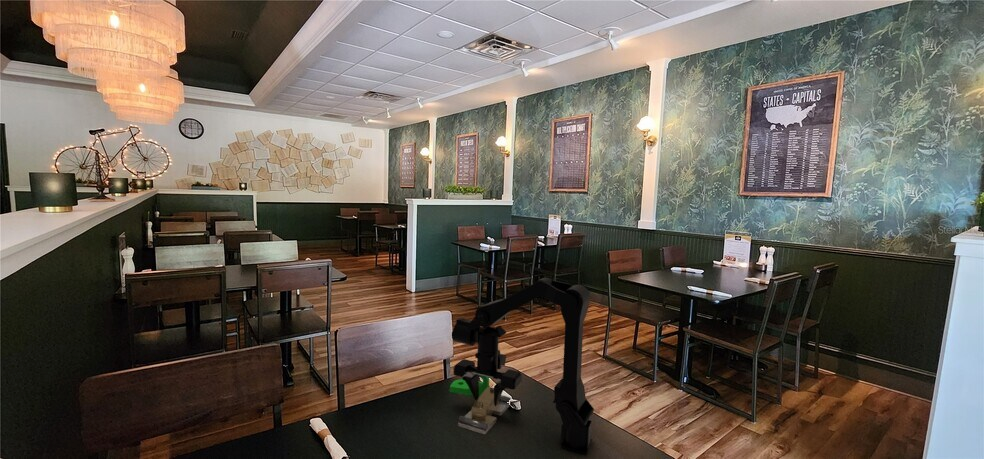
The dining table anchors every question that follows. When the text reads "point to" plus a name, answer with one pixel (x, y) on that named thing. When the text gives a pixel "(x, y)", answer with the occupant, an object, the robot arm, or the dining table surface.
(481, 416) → the bar
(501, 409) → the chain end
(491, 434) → the dining table surface
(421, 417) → the dining table surface
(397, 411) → the dining table surface
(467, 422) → the chain end
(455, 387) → the mechanical part
